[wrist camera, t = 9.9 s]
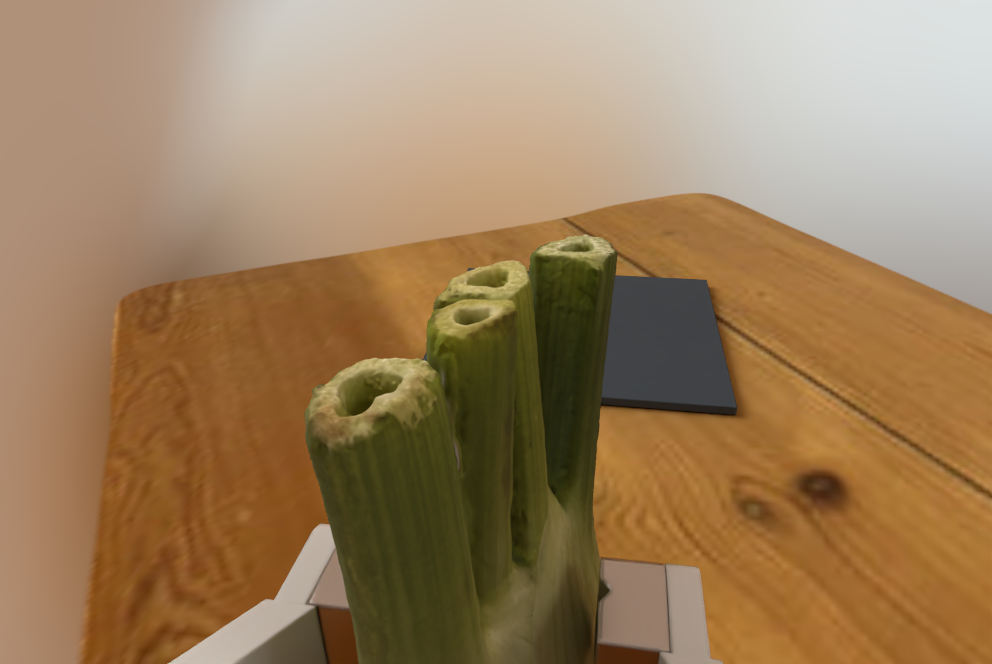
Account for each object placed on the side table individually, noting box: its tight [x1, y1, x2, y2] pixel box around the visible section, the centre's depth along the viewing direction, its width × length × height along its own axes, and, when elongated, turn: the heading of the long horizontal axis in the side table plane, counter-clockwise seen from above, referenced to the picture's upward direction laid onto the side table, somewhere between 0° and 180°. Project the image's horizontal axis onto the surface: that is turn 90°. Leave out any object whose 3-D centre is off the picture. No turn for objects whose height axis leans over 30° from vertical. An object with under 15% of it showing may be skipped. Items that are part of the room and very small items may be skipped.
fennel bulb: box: [305, 235, 617, 664], centre depth 11 cm, size 6×5×12 cm
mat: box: [423, 268, 737, 415], centre depth 36 cm, size 14×13×1 cm
